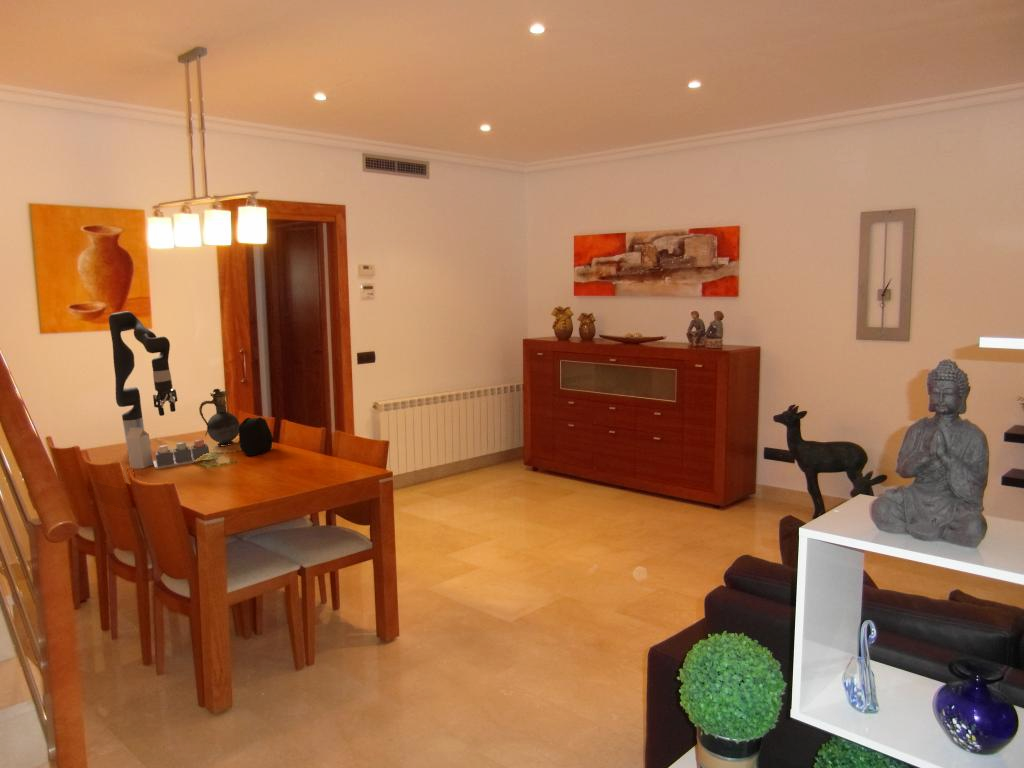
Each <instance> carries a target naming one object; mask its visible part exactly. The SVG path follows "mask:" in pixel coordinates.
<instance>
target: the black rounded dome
mask: <svg viewBox="0 0 1024 768" xmlns="http://www.w3.org/2000/svg"><path fill="white" fill-rule="evenodd" d="M239 424H240V426H239V434H238V438H239V441H238V443H237V444H239V447H240V450H241V451H242V452H243V453H244V454H246V456H254V455H260V454H263V453H266V452H269V451H270V450H271V449H272V447H273V443H274V442H275V439H274V437H273V435H272V432H271V429H270V427H269V425H268V423H267V420H266V419H265V418H264V417H261V416H259V417H252V418H251V417H247V418H245V419H244V420H243V421H242V422H241V423H239Z"/></svg>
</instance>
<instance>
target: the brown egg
mask: <svg viewBox="0 0 1024 768" xmlns="http://www.w3.org/2000/svg"><path fill="white" fill-rule="evenodd" d="M193 444H194V445H193V446H195V448H198V447H204V444H205V442H204V439H195V440H193Z"/></svg>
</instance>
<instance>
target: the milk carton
mask: <svg viewBox="0 0 1024 768" xmlns="http://www.w3.org/2000/svg"><path fill="white" fill-rule="evenodd" d="M126 441H127V445H126V449H127V448H128V451H127V453H128V459H129V466H130V468H131V467H132V468H131V469H146V468H147V467H151V466H152V465H154V464H153V461H154V459H153V452H152V447H151V446H152V445H151V440H150V434H149V433H148V432H147V431H146V430H145V429H144V430H143V428H130V431H129V433H128V435H127V437H126V438H125V442H126Z"/></svg>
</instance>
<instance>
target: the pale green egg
mask: <svg viewBox="0 0 1024 768" xmlns="http://www.w3.org/2000/svg"><path fill="white" fill-rule="evenodd" d="M187 447H188V446H187V443H186V442H177V443H175V448H177V451H180V450H186V449H187Z"/></svg>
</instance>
